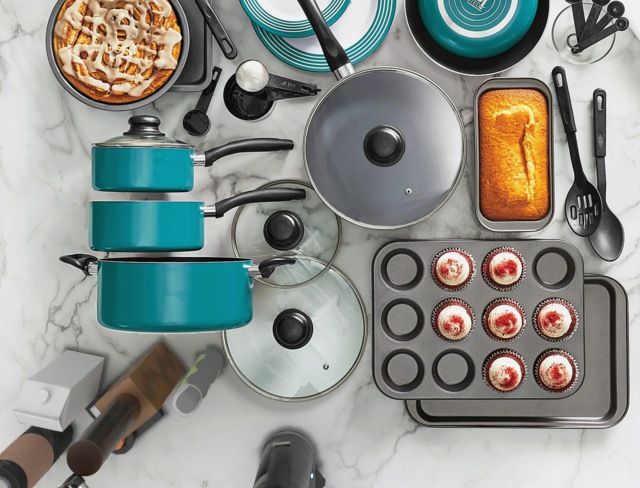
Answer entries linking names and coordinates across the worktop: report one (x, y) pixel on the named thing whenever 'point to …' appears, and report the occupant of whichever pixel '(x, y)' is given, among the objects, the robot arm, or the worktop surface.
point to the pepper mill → (103, 435)
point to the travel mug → (32, 456)
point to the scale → (132, 437)
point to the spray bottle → (197, 383)
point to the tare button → (120, 444)
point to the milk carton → (60, 391)
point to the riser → (147, 383)
